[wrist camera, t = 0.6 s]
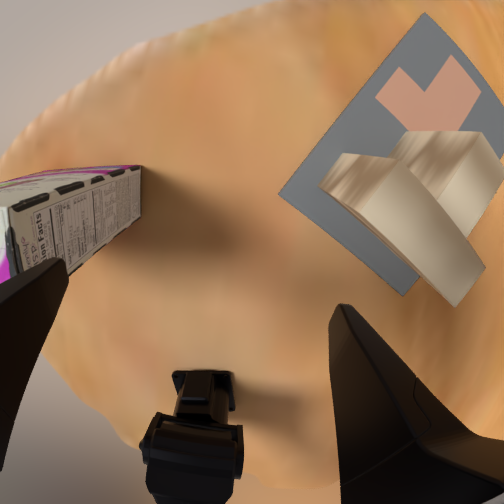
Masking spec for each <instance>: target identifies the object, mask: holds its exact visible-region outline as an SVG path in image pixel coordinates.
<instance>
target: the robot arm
mask: <svg viewBox="0 0 504 504" xmlns="http://www.w3.org/2000/svg"><path fill="white" fill-rule="evenodd" d="M68 283H69V277H68V272H67V268H66V264H65V261H64V259H62V258H59V257H51V258H49V259H47V260H45V261H43V262H41V263H39V264H37V265H35V266H33V267H31V268H29V269H27V270H25V271H23V272H21V273H19V274H17V275H15V276H13V277H11V278H10V279H8V280H6V281H4V282H2V283H0V472H1V471H2V468H3V464H4V460H5V455H6V451H7V447H8V443H9V439H10V436H11V432H12V429H13V425H14V421H15V418H16V415H17V412H18V409H19V406H20V403H21V400H22V397H23V394H24V392H25V389H26V386H27V383H28V381H29V378H30V375H31V373H32V370H33V368H34V366H35V363H36V361H37V358H38V356H39V353H40V351H41V349H42V347H43V344H44V342H45V340H46V338H47V335H48V333H49V331H50V329H51V327H52V325H53V322H54V320H55V317H56V315H57V312H58V309H59V307H60V304H61V302H62V299H63V296H64V294H65V291H66V289H67V286H68ZM328 331H329V371H330V380H331V388H332V397H333V406H334V415H335V425H336V435H337V447H338V459H339V473H340V486H341V487H340V490H341V504H504V441H503V440H498V439H492V438H487V437H482V436H479V435H477V434H475V433H473V432H472V431H470V430H469V429H468V428H467V427H466V426H465V425H464V424H463V423H462V422H461V421H460V420H459V419H458V418H457V417H455V416H454V415H453V414H452V413H451V412H450V411H449V410H448V409H447V408H446V407H445V406H444V405H443V404H442V403H441V402H440V401H439V400H438V399H437V398H436V397H435V396H434V395H433V394H432V393H431V392H430V390H429V389H428V388H427V387H426V386H425V385H424V384H423V383H422V382H421V380H420V379H419V378H418V377H417V378H416V375H415V374H414V373H413V372H412V370H411V369H410V368H409V367H408V366H407V365H406V364H405V363H404V362H403V360H402V359H401V358H400V357H399V356H398V355H397V354H396V353H395V352H394V351H393V349H392V348H391V347H390V346H389V345H388V344H387V343H386V342H385V341H384V340H383V338H382V337H381V336H380V335H379V334H378V333H377V332H376V331H375V330H374V329H373V328H372V327H371V326H370V324H369V323H368V322H367V321H366V320H365V319H364V318H363V317H362V316H361V315H360V314H359V313H358V312H357V311H356V310H355V308H354V307H353V306H352V305H350V304H341V303H340V304H338V305H337V307H336V309H335V311H334V313H333V315H332V317H331V320H330V322H329V327H328ZM176 375H177V376H176ZM224 375H227V376H224ZM172 379H173V382H174V385H175V388H176V391H177V395H178V398H177V402H176V406H175V410H174V414H173V416H171V415H166V414H162V413H161V412H157V413H156V415H155V417H153V419H152V421H151V423H150V425H149V427H148V429H147V431H146V434H145V436H144V438H143V439H142V440H141V441H140V443H139V448H140V450H141V451H142V455H143V463H144V464H146V465H147V472H146V481H145V482H146V485H147V488H148V490H149V492H150V494H152V495H153V497H154V499H155V501H156V503H157V504H225V503H226V502H227V501H228V499H229V498H230V497H231V495H232V493H233V485H234V479H240V478H241V475H242V470H243V462H244V440H243V425H228V411H235V400H234V394H233V387H232V380H231V374H230V373H229V372H227V371H174V372H173V373H172Z"/></svg>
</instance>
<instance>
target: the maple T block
mask: <svg viewBox="0 0 504 504" xmlns="http://www.w3.org/2000/svg"><path fill="white" fill-rule="evenodd" d="M503 179H504V167H503V165H502V163H501V162H500V160H499V158H498V157H497V155H496V153H495V152H494V150H493V149H492V147H491V146H490V144H489V142H488V141H487V139H486V138H485V136H484V135H483V134H482V132H473V131H408V132H405V134H404V135H403V136H402V138H401V139H400V141H399V142H398V143H397V145H396V146H395V147H394V149H393V150H392V151H391V153H390V154H389V155H388V157H387V158H384V157H376V156H368V155H359V154H349V153H342V155H341V156H340V157H339V158H338V160H337V161H336V162H335V163H334V165H333V166H332V167H331V169H330V170H329V171H328V172H327V174H326V175H325V176H324V177H323V179H322V180H321V181H320V183H319V184H318V185H317V186H318V187H319V188H320V189H321V190H323V191H324V192H325V193H326V194H327V195H329V196H330V197H331V198H332V199H333V200H335V201H336V202H337V203H338V204H339V205H341V206H342V207H343V208H344V209H345V210H346V211H348V212H349V213H350V214H351V215H352V216H353V217H355V218H356V219H357V220H358V221H359V222H360V223H361V224H362V225H364V226H365V227H366V228H367V229H368V230H369V231H370V232H371V233H372V234H374V235H375V236H376V237H377V238H378V239H379V240H380V241H381V242H382V243H383V244H384V245H386V246H387V247H388V248H389V249H390V250H391V251H392V252H393V253H394V254H395V255H396V256H397V257H399V258H400V259H401V260H402V261H403V262H404V263H406V264H407V265H408V266H409V267H410V268H411V269H413V270H414V271H415V272H416V273H417V274H418V275H419V276H421V277H422V278H423V279H424V280H425V281H426V282H427V283H428V284H429V285H431V286H432V287H433V288H434V289H435V290H436V291H437V292H438V293H439V294H440V295H441V296H443V297H444V298H445V299H446V300H447V301H448V302H449V303H450V304H451V305H452V306H453V307H454V308H455V307H456V306H457V305H458V304H459V302H460V301H461V300H462V299H463V297H464V296H465V295H466V294H467V292H468V291H469V290H470V288H471V287H472V286H473V285H474V283H475V282H476V281H477V279H478V278H479V276H480V275H481V274H482V272H483V271H484V270H485V268H486V267H485V265H484V264H483V262H482V261H481V259H480V258H479V256H478V255H477V253H476V252H475V250H474V249H473V247H472V246H471V245H470V243H469V242H468V240H467V239H466V238H467V237H468V235H469V234H470V232H471V231H472V229H473V228H474V226H475V225H476V223H477V222H478V220H479V219H480V217H481V216H482V214H483V213H484V211H485V210H486V208H487V206H488V205H489V203H490V202H491V200H492V198H493V197H494V195H495V193H496V192H497V190H498V188H499V186H500V185H501V183H502V181H503Z"/></svg>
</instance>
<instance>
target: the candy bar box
mask: <svg viewBox="0 0 504 504" xmlns="http://www.w3.org/2000/svg"><path fill="white" fill-rule="evenodd" d="M140 181H141V166H140V165H120V166H98V167H83V168H71V169H59V170H47V171H42V172H39V173H35V174H31V175H27V176H23V177H19V178H16V179H12V180H9V181H5V182H2V183H0V283H2V282H4V281H6V280H8V279H10V278H11V277H13V276H15V275H17V274H19V273H21V272H23V271H25V270H27V269H29V268H31V267H33V266H35V265H37V264H39V263H41V262H43V261H45V260H47V259H49V258H51V257H59V258H62V259H64V261H65V264H66V268H67V272H68V277H69V276H70V275H71V274H72V273H74V272H75V271H76V270H77V269H78V268H80V267H81V266H82V265H83V264H84V263H85V262H86V261H87V260H89V259H90V258H91V257H92V256H93V255H94V254H95V253H96V252H98V251H99V250H100V249H101V248H102V247H104V246H105V245H107V244H108V243H109V242H110V241H111V240H112V239H114V238H115V237H116V236H118V235H119V234H120V233H121V232H123V231H124V230H125V229H127V228H128V227H129V226H130V225H132V224H133V223H134V222H135V221H137V220H138V219H139V218H141V200H140Z"/></svg>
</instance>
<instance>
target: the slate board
mask: <svg viewBox="0 0 504 504" xmlns="http://www.w3.org/2000/svg"><path fill="white" fill-rule="evenodd" d="M408 131H473V132H482V134H483V135H484V136H485V138H486V139H487V141H488V142H489V144H490V146H491V147H492V149H493V150H494V152H495V153H496V155H497V157H498V158H499V160H500V159H501V157H502V155H503V153H504V107H503V105H502V104H501V102H500V101H499V99H498V98H497V96H496V95H495V93H494V92H493V90H492V89H491V87H490V86H489V85H488V83H487V82H486V80H485V79H484V78H483V76H482V75H481V74H480V73H479V71H478V70H477V69H476V67H475V66H474V65H473V64H472V62H471V61H470V60H469V59H468V57H467V56H466V55H465V54H464V53H463V52H462V50H461V49H460V48H459V47H458V46H457V45H456V44H455V42H454V41H453V40H452V39H451V38H450V37H449V36H448V35H447V34H446V33H445V32H444V31H443V30H442V29H441V27H440V26H439V25H438V24H437V23H436V22H435V21H434V20H433V19H431V18H430V17H429V16H428V15H427V14H426V13H423V14H422V15H421V16H420V18H419V19H418V20H417V21H416V22H415V23H414V25H413V26H412V27H411V28H410V30H409V31H408V32H407V33H406V34H405V36H404V37H403V38H402V39H401V40H400V42H399V43H398V44H397V45H396V46H395V48H394V49H393V50H392V51H391V53H390V54H389V55H388V56H387V57H386V59H385V60H384V61H383V62H382V64H381V65H380V66H379V67H378V68H377V70H376V71H375V72H374V73H373V75H372V76H371V77H370V78H369V80H368V81H367V82H366V83H365V84H364V86H363V87H362V88H361V89H360V91H359V92H358V93H357V94H356V96H355V97H354V98H353V99H352V101H351V102H350V103H349V104H348V106H347V107H346V108H345V109H344V111H343V112H342V113H341V114H340V116H339V117H338V118H337V119H336V121H335V122H334V123H333V124H332V126H331V127H330V128H329V129H328V131H327V132H326V133H325V134H324V136H323V137H322V138H321V139H320V141H319V142H318V143H317V145H316V146H315V147H314V148H313V150H312V151H311V152H310V153H309V155H308V156H307V157H306V159H305V160H304V161H303V162H302V164H301V165H300V166H299V167H298V169H297V170H296V171H295V173H294V174H293V175H292V176H291V178H290V179H289V180H288V182H287V183H286V184H285V185H284V187H283V188H282V189H281V190H280V192H279V193H278V195H279V196H280V197H282V198H283V199H284V200H286V201H287V202H288V203H290V204H291V205H292V206H294V207H295V208H296V209H297V210H299V211H300V212H301V213H303V214H304V215H305V216H307V217H308V218H309V219H310V220H312V221H313V222H314V223H315V224H317V225H318V226H319V227H320V228H322V229H323V230H324V231H326V232H327V233H328V234H329V235H330V236H332V237H333V238H334V239H335V240H337V241H338V242H339V243H340V244H342V245H343V246H344V247H345V248H346V249H348V250H349V251H350V252H351V253H353V254H354V255H355V256H356V257H357V258H359V259H360V260H361V261H362V262H363V263H365V264H366V265H367V266H368V267H369V268H370V269H372V270H373V271H374V272H375V273H376V274H377V275H379V276H380V277H381V278H382V279H383V280H384V281H386V282H387V283H388V284H389V285H390V286H391V287H392V288H394V289H395V290H396V291H397V292H398V293H399V294H400V295H401V296H404V295H405V293H406V292H407V291H408V290H409V289H410V288H411V286H412V285H413V284H414V283H415V282H416V280H417V279H418V278H419V277H420V276H419V275H418V274H417V273H416V272H415V271H414V270H413V269H411V268H410V267H409V266H408V265H407V264H406V263H404V262H403V261H402V260H401V259H400V258H399V257H397V256H396V255H395V254H394V253H393V252H392V251H391V250H390V249H389V248H388V247H387V246H386V245H384V244H383V243H382V242H381V241H380V240H379V239H378V238H377V237H376V236H375V235H374V234H372V233H371V232H370V231H369V230H368V229H367V228H366V227H365V226H364V225H362V224H361V223H360V222H359V221H358V220H357V219H356V218H355V217H353V216H352V215H351V214H350V213H349V212H348V211H346V210H345V209H344V208H343V207H342V206H341V205H339V204H338V203H337V202H336V201H335V200H333V199H332V198H331V197H330V196H329V195H327V194H326V193H325V192H324V191H323V190H321V189H320V188H319V187H318V186H317V185H318V184H319V183H320V181H321V180H322V179H323V177H324V176H325V175H326V174H327V172H328V171H329V170H330V169H331V167H332V166H333V165H334V163H335V162H336V161H337V160H338V158H339V157H340V156H341V155H342V153H349V154H359V155H368V156H376V157H384V158H387V157H388V155H389V154H390V153H391V151H392V150H393V149H394V147H395V146H396V145H397V143H398V142H399V141H400V139H401V138H402V136H403V135H404V134H405V132H408Z"/></svg>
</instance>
